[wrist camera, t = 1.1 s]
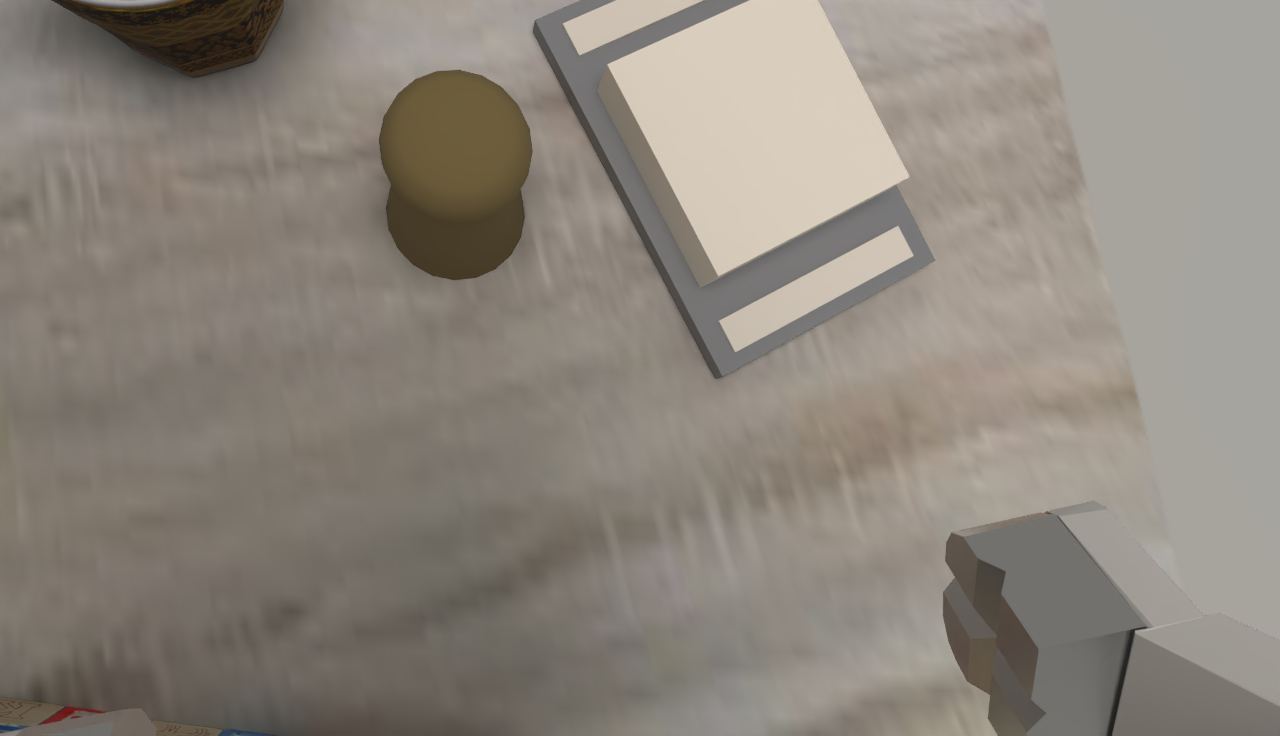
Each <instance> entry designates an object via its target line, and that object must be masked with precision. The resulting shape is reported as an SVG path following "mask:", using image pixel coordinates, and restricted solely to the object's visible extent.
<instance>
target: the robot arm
mask: <svg viewBox="0 0 1280 736" xmlns="http://www.w3.org/2000/svg"><path fill="white" fill-rule="evenodd" d="M945 561H946V563H947V565H948V566H949V568H950V570H951V571H952V573H953V575H954V576H955V578H954V579H953V581H952V582H951V583H950V584H949V585H948V587H947V588H946V589H945V590H944V592H943V618H944V623H945V628H946V632H947V637H948V641H949V644H950V646H951V649H952V651H953V654H954V656H955V659H956V661H957V663H958V665H959V667H960V669H961V671H962V672H963V674H964V676H965V678H966V680H967V682H969V683H971V684H972V685H974V686H976V687H977V688H979V689H981V690H982V691H984V692H986V693H988V694H989V695H990V702H989V713H988V719H989V721H990V723H991V724H992V726H993V728H994V730H995V731H996V733H997V735H998V736H1280V640H1279V639H1276V638H1274V637H1272V636H1270V635H1268V634H1265V633H1263V632H1261V631H1259V630H1257V629H1254V628H1252V627H1250V626H1248V625H1245V624H1243V623H1241V622H1239V621H1237V620H1234V619H1232V618H1230V617H1228V616H1225V615H1223V614H1221V613H1217V614H1211V615H1205V616H1204V614H1203V613H1202V612H1201V611H1200V610H1199V609H1198V608H1197V607H1196V606H1195V605H1194V603H1193V602H1192V601H1191V600H1190V599H1189V598H1188V597H1187V596H1186V595H1185V594H1184V592H1183V591H1182V590H1181V589H1180V588H1179V587H1178V586H1177V585H1176V584H1175V583H1174V581H1173V580H1172V579H1171V578H1170V577H1169V576H1168V575H1167V574H1166V573H1165V571H1164V570H1163V569H1162V568H1161V567H1160V566H1159V565H1158V564H1157V563H1156V562H1155V560H1154V559H1153V558H1152V557H1151V556H1150V555H1149V554H1148V553H1147V552H1146V551H1145V549H1144V548H1143V547H1142V546H1141V545H1140V544H1139V543H1138V542H1137V541H1136V540H1135V538H1134V537H1133V536H1132V535H1131V534H1130V533H1129V532H1128V531H1127V530H1126V528H1125V527H1124V526H1123V525H1122V524H1121V523H1120V522H1119V521H1118V520H1117V519H1116V517H1115V516H1114V515H1113V514H1112V513H1111V512H1110V511H1109V510H1108V509H1107V508H1106V506H1104V505H1102V504H1100V503H1098V502H1096V501H1091V502H1086V503H1082V504H1077V505H1073V506H1068V507H1064V508H1059V509H1055V510H1050V511H1047V512H1045V513H1036V514H1031V515H1027V516H1022V517H1018V518H1013V519H1009V520H1004V521H1000V522H995V523H991V524H986V525H982V526H978V527H973V528H969V529H964V530H960V531H955V532H951V534H950V536H949V538H948V540H947V542H946V555H945ZM156 732H157V729H156V727H155V726H154V725H153V723H152V722H151V720H150V719H149V718H148V716H147V715H146V714H145V712H144V711H143V710H142V708H133V709H122V710H117V711H112V712H106V713H101V714H96V715H90V716H85V717H80V718H74V719H69V720H64V721H58V722H53V723H48V724H42V725H37V726H32V727H26V728H24V729H20V730H15V731H10V732H4V733H0V736H155V735H156Z"/></svg>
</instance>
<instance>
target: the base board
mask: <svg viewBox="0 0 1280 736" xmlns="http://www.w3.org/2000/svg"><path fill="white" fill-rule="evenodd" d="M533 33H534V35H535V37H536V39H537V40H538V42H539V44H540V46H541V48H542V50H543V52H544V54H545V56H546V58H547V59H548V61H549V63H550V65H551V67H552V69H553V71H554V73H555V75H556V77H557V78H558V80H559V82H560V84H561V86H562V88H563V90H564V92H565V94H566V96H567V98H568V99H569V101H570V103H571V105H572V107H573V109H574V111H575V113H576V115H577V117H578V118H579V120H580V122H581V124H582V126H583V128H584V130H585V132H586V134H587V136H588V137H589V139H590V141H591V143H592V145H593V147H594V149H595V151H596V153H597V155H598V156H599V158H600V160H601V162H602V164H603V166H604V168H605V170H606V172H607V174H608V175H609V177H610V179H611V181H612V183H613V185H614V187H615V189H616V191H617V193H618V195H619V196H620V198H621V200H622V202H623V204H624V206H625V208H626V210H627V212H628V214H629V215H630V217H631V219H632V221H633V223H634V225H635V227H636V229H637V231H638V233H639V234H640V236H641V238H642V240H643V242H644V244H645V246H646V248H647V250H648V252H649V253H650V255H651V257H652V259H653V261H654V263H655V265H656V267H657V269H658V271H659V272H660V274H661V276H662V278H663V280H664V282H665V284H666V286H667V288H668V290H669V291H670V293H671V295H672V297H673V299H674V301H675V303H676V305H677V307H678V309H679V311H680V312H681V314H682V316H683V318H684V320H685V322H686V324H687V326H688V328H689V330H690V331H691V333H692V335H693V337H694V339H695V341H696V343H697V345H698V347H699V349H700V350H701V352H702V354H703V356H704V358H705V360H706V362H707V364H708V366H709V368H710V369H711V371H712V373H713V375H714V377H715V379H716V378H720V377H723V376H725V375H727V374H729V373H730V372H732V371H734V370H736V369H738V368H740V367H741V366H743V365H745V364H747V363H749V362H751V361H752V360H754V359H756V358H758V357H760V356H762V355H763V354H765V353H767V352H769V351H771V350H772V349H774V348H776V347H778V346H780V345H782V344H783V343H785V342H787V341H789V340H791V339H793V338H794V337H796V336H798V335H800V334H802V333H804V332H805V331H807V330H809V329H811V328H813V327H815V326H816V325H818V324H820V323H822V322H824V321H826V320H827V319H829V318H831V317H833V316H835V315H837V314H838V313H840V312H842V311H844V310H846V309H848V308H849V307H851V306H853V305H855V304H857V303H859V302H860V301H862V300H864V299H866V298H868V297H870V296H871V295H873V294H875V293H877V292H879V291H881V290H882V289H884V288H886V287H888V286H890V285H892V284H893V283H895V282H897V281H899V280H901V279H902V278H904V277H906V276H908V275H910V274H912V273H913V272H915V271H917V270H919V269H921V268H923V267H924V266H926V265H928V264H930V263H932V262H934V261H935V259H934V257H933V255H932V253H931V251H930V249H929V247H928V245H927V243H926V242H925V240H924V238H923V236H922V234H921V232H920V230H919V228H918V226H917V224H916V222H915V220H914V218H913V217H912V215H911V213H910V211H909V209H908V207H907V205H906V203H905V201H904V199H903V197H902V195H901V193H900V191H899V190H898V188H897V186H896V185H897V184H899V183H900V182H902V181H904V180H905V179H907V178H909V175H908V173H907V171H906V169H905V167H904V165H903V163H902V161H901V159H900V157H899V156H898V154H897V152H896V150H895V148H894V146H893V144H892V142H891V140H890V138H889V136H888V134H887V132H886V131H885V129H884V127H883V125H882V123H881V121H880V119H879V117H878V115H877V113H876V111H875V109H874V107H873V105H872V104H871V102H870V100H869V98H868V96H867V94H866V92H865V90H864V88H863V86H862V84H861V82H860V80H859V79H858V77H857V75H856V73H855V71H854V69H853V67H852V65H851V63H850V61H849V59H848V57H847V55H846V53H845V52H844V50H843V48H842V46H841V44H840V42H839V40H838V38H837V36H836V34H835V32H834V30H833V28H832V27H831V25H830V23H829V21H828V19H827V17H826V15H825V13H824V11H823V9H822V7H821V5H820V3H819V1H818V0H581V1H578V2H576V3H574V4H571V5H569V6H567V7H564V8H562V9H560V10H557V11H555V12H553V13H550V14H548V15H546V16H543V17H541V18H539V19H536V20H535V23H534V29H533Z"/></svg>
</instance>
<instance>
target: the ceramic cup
mask: <svg viewBox="0 0 1280 736" xmlns="http://www.w3.org/2000/svg"><path fill="white" fill-rule="evenodd" d="M52 1H54V2H56V3H57V4H59V5H61V6H63V7H64V8H66V9H68V10H70V11H71V12H73V13H75V14H77V15H78V16H80V17H82V18H84V19H86V20H88V21H90V22H92V23H95V24H97V25H99V26H100V27H102V28H103V29H105V30H106V31H108V32H110V33H111V34H113V35H114V36H116V37H117V38H118V39H120V40H121V41H122V42H124V43H125V44H127V45H128V46H129V47H131V48H132V49H133V50H135V51H137V52H139V53H141V54H143V55H146V56H148V57H150V58H152V59H154V60H156V61H158V62H160V63H163V64H165V65H167V66H169V67H171V68H173V69H175V70H177V71H180V72H182V73H184V74H186V75H188V76H191V77H198V76H202V75H205V74H209V73H213V72H216V71H220V70H223V69H227V68H230V67H234V66H237V65H241V64H245V63H248V62H251V61H254V60H256V59H257V57H258V56H259V54H260V52H261V50H262V49H263V47H264V45H265V43H266V41H267V39H268V37H269V35H270V33H271V31H272V30H273V28H274V26H275V24H276V22H277V20H278V18H279V16H280V14H281V12H282V10H283V7H284V0H52Z"/></svg>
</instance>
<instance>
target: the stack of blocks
mask: <svg viewBox="0 0 1280 736" xmlns="http://www.w3.org/2000/svg"><path fill="white" fill-rule="evenodd" d="M101 713H106V712H103V711H96V710H88V709H80V708H73V707H64V706H61V705H55V704H48V703H41V702H34V701H27V700H19V699H12V698H4V697H0V733H4V732H10V731H15V730H20V729H24V728H26V727H32V726H37V725H42V724H48V723H53V722H58V721H64V720H69V719H74V718H80V717H85V716H90V715H96V714H101ZM151 722H152V723H153V725H154V726H155V727H156V729H157V732H156V735H155V736H274V735H267V734H259V733H251V732H244V731H237V730H221V729H217V728H210V727H202V726H194V725H186V724H179V723H171V722H163V721H155V720H151Z"/></svg>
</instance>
